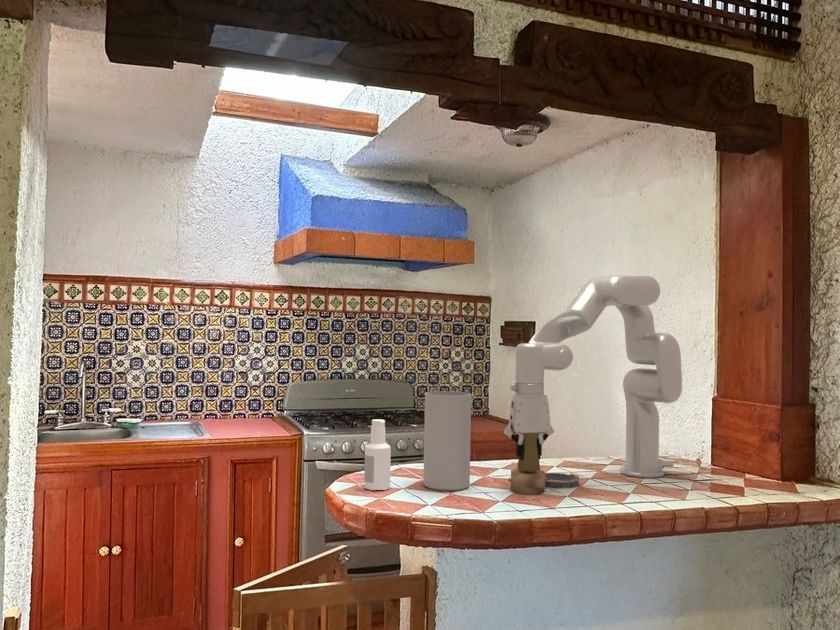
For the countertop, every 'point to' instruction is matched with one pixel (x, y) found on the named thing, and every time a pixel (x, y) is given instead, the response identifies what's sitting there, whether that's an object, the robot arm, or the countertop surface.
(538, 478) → the pot
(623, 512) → the countertop surface
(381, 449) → the spray bottle
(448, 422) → the cylinder vase
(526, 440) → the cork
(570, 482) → the collar
